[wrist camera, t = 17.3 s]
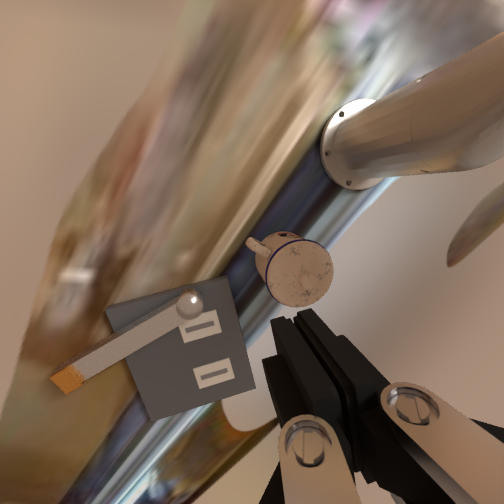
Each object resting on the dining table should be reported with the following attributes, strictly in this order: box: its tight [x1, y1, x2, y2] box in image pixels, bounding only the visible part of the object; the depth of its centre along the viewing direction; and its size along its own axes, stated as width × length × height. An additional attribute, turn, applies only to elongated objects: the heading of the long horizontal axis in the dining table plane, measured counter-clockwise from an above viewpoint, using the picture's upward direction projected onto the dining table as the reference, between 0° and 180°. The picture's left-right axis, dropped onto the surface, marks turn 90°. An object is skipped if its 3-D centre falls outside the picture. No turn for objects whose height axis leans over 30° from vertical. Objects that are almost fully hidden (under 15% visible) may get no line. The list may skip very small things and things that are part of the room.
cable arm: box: [50, 288, 203, 394], centre depth 35 cm, size 22×4×3 cm, turn 118°
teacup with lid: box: [246, 231, 333, 307], centre depth 34 cm, size 12×9×12 cm
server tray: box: [105, 275, 256, 422], centre depth 40 cm, size 18×21×2 cm
